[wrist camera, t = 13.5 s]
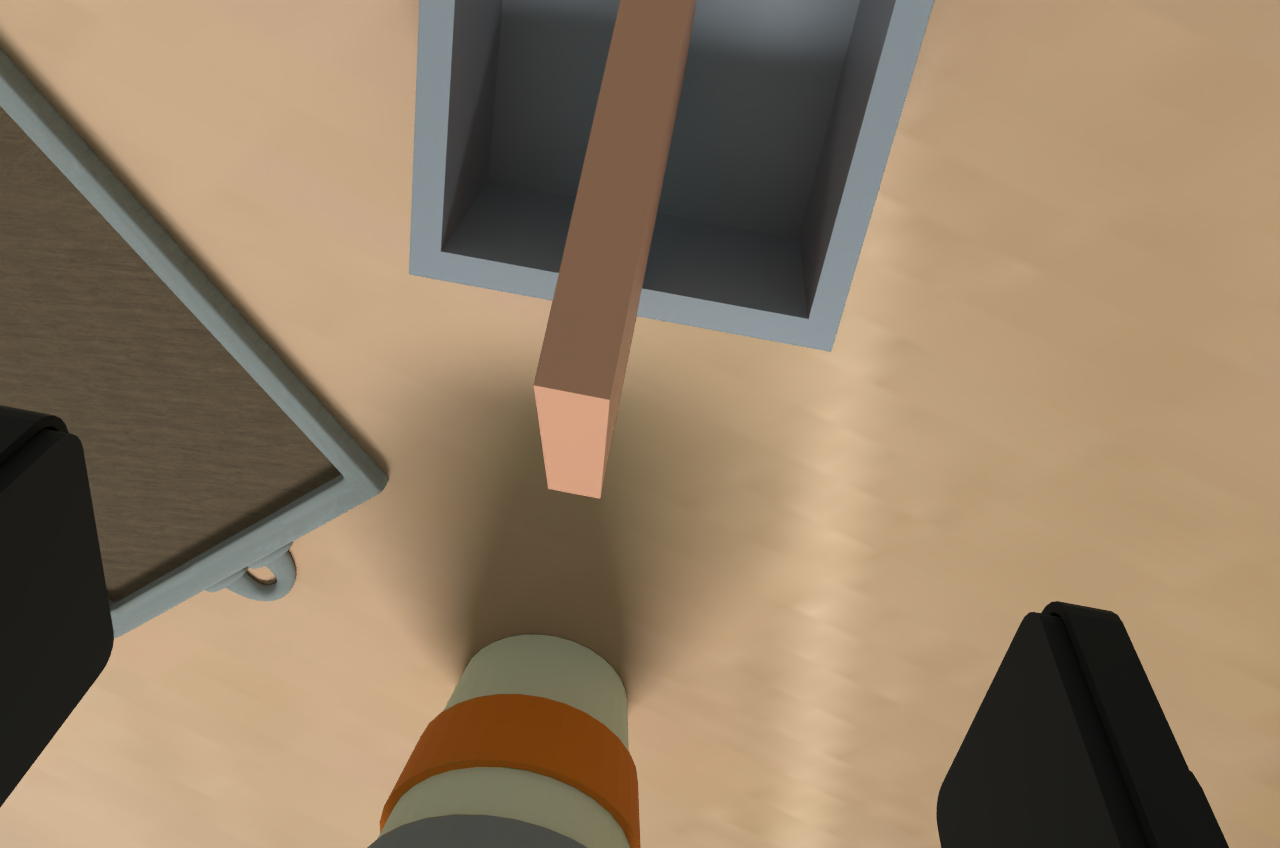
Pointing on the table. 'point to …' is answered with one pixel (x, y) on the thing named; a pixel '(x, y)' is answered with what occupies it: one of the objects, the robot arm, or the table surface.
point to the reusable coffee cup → (522, 757)
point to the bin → (698, 157)
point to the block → (610, 242)
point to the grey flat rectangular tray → (154, 382)
